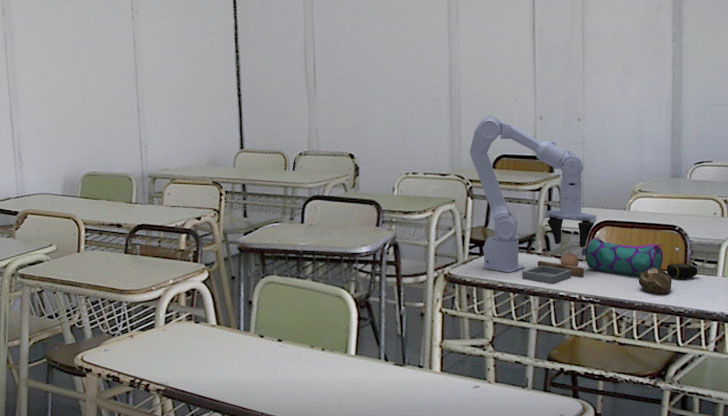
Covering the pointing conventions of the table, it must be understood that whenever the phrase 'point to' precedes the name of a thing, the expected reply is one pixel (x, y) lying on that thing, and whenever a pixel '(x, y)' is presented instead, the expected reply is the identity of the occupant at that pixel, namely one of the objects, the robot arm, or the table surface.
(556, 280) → the tray
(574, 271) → the walnut rail
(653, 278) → the brown rock
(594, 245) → the pencil case
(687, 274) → the tape measure
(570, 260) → the ball
